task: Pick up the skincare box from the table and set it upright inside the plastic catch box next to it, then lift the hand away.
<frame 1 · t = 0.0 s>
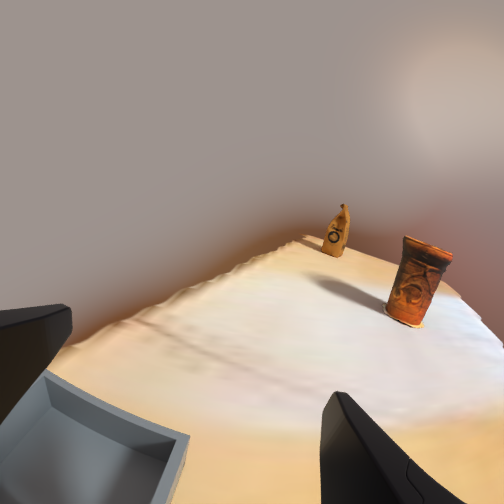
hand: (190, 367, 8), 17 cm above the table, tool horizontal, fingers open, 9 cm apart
catch box: (76, 488, 12), on the table
vessel: (401, 316, 67), on the table
coffee package: (330, 253, 122), on the table
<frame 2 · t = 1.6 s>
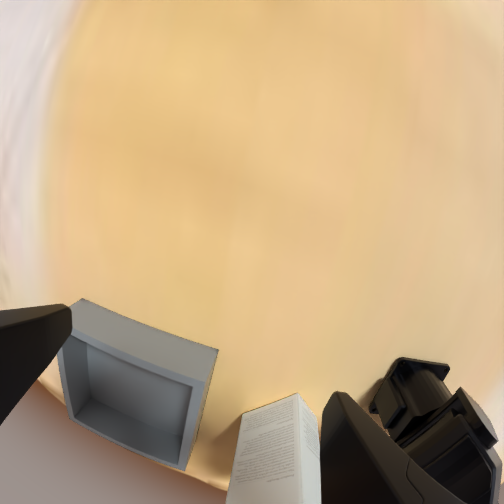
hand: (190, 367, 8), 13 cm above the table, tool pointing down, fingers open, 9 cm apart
catch box: (139, 380, 25), on the table
skincare box: (281, 414, 24), on the table
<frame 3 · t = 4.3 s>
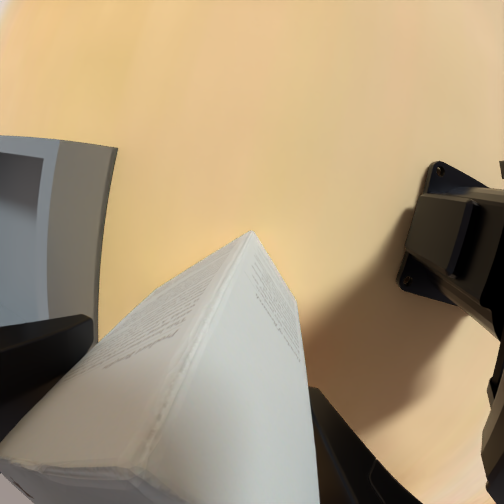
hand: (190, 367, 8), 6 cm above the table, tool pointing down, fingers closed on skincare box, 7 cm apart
catch box: (25, 241, 15), on the table
skincare box: (226, 293, 14), on the table, touching gripper
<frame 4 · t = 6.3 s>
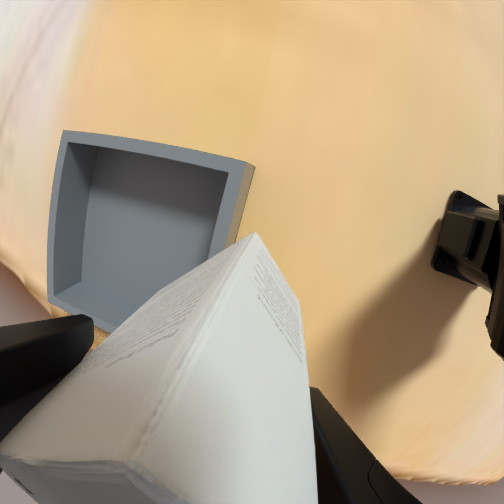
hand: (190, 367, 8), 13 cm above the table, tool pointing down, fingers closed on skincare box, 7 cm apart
catch box: (147, 233, 21), on the table
skincare box: (230, 295, 14), point 7 cm above the table, touching gripper
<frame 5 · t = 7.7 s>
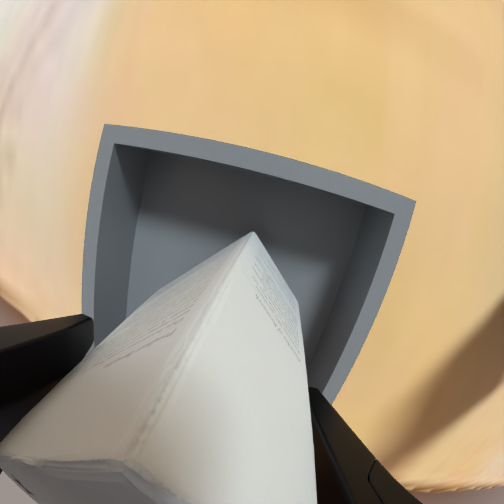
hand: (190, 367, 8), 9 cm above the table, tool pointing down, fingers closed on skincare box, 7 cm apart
catch box: (230, 278, 16), on the table
skincare box: (228, 294, 14), point 2 cm above the table, touching gripper
when the fingers open (8 cm above the table, at t = 8.7 s): skincare box drops 1 cm, resting on catch box.
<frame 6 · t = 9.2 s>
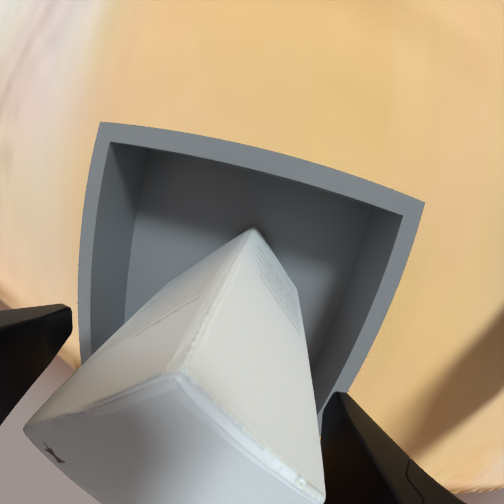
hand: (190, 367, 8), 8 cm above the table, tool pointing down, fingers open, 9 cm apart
catch box: (231, 281, 16), on the table
skincare box: (233, 285, 16), resting on catch box
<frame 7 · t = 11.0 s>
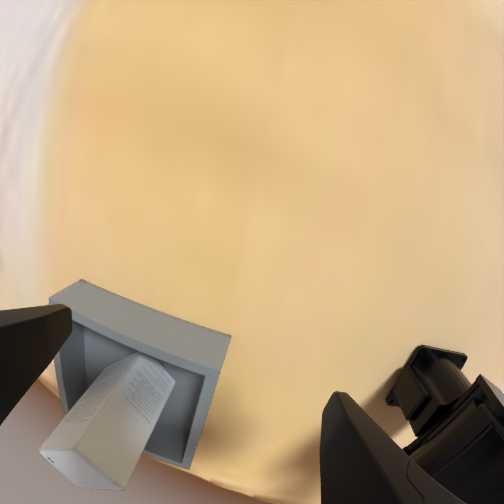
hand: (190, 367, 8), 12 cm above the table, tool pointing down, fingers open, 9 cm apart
catch box: (141, 370, 23), on the table
skincare box: (141, 373, 23), resting on catch box
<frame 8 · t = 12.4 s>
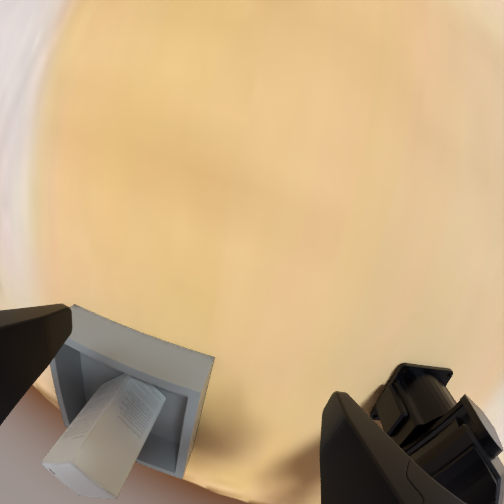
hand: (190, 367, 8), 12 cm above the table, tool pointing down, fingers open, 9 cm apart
catch box: (134, 387, 24), on the table
skincare box: (134, 389, 23), resting on catch box
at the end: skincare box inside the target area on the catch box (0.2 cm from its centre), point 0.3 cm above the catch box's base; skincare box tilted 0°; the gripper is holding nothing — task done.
